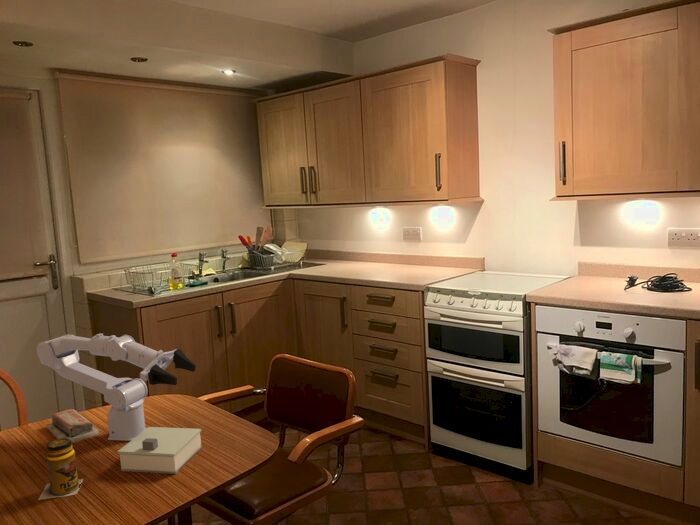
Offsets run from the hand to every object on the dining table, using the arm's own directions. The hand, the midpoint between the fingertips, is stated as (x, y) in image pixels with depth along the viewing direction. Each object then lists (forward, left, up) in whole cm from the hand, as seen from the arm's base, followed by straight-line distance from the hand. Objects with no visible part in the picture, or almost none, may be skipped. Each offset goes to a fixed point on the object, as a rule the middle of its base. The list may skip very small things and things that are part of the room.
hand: (185, 374), depth 156 cm
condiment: (-21, -26, -20) cm, 39 cm away
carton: (-4, -9, -20) cm, 22 cm away
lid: (-4, -9, -15) cm, 18 cm away
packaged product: (-42, +5, -21) cm, 47 cm away
